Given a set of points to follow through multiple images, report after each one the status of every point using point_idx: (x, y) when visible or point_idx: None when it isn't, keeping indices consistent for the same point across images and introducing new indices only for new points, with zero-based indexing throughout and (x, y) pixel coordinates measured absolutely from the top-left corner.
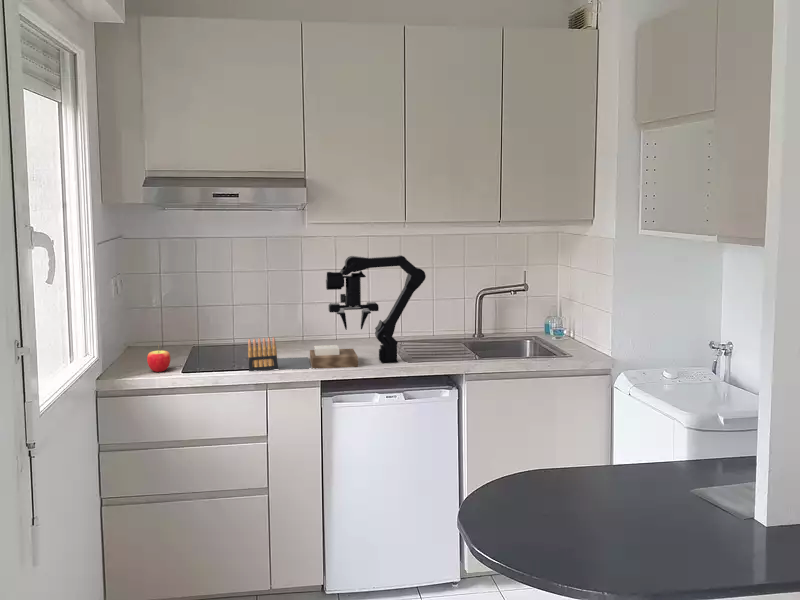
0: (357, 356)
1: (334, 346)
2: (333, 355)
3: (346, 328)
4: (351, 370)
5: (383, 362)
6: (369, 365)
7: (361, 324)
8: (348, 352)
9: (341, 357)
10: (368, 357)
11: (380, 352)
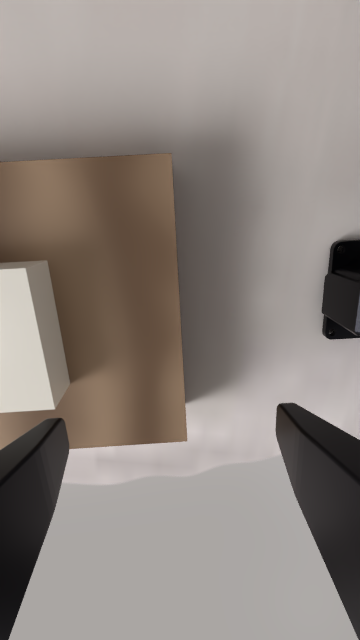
0: (185, 440)
1: (6, 334)
2: None
3: (61, 473)
4: (149, 466)
5: (332, 338)
6: (247, 376)
7: (308, 525)
8: (131, 315)
9: (88, 445)
10: (279, 139)
11: (352, 332)
